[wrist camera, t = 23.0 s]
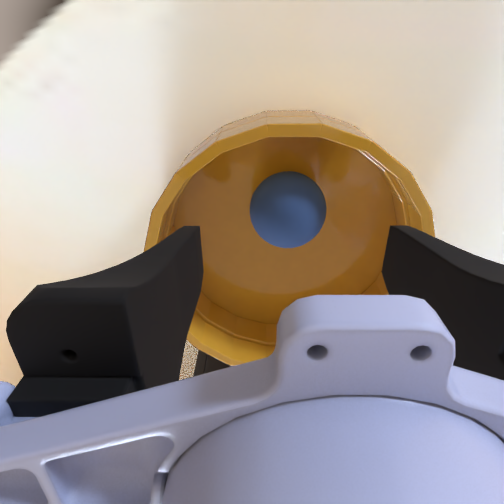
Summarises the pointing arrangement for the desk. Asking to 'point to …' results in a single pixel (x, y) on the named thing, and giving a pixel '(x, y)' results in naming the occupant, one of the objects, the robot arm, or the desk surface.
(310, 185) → the slate-blue ball
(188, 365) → the desk surface
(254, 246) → the bowl
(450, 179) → the desk surface
